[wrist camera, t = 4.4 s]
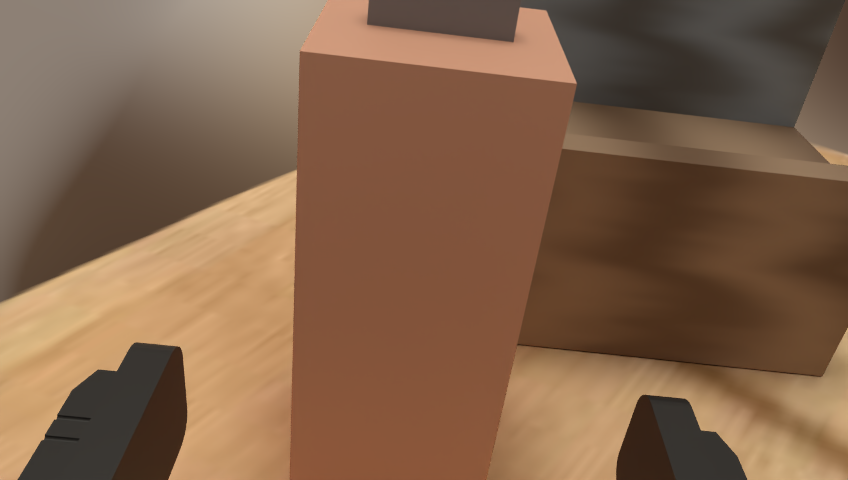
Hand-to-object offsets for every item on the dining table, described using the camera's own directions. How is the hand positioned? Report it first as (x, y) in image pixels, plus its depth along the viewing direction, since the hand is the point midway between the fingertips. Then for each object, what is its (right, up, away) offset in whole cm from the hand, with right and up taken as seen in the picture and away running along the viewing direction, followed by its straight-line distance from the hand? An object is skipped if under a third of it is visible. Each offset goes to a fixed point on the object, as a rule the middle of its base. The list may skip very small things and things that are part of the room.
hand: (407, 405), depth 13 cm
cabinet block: (-1, -3, +9) cm, 9 cm away
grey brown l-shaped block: (+8, +1, +17) cm, 19 cm away
